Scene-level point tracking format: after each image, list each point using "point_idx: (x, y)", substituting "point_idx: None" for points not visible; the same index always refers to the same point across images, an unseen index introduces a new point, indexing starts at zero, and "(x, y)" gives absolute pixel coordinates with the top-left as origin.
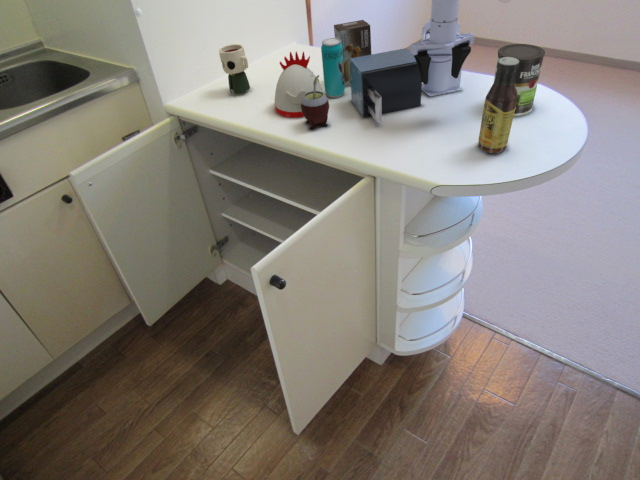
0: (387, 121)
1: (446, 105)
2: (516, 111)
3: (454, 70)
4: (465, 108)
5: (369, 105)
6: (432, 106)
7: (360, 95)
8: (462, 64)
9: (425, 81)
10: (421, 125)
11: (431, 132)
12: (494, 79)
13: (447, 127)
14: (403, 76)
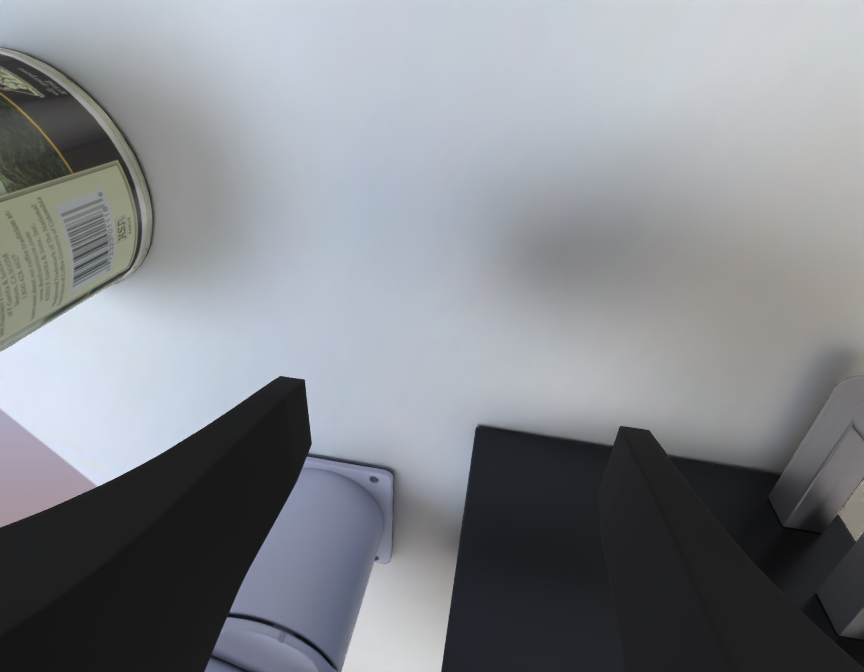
0: (737, 388)
1: (353, 370)
2: (5, 61)
3: (275, 455)
4: (276, 296)
5: (819, 526)
6: (422, 396)
7: None
8: (159, 456)
9: (661, 450)
10: (601, 251)
11: (607, 133)
12: (5, 316)
13: (475, 144)
14: (600, 627)
